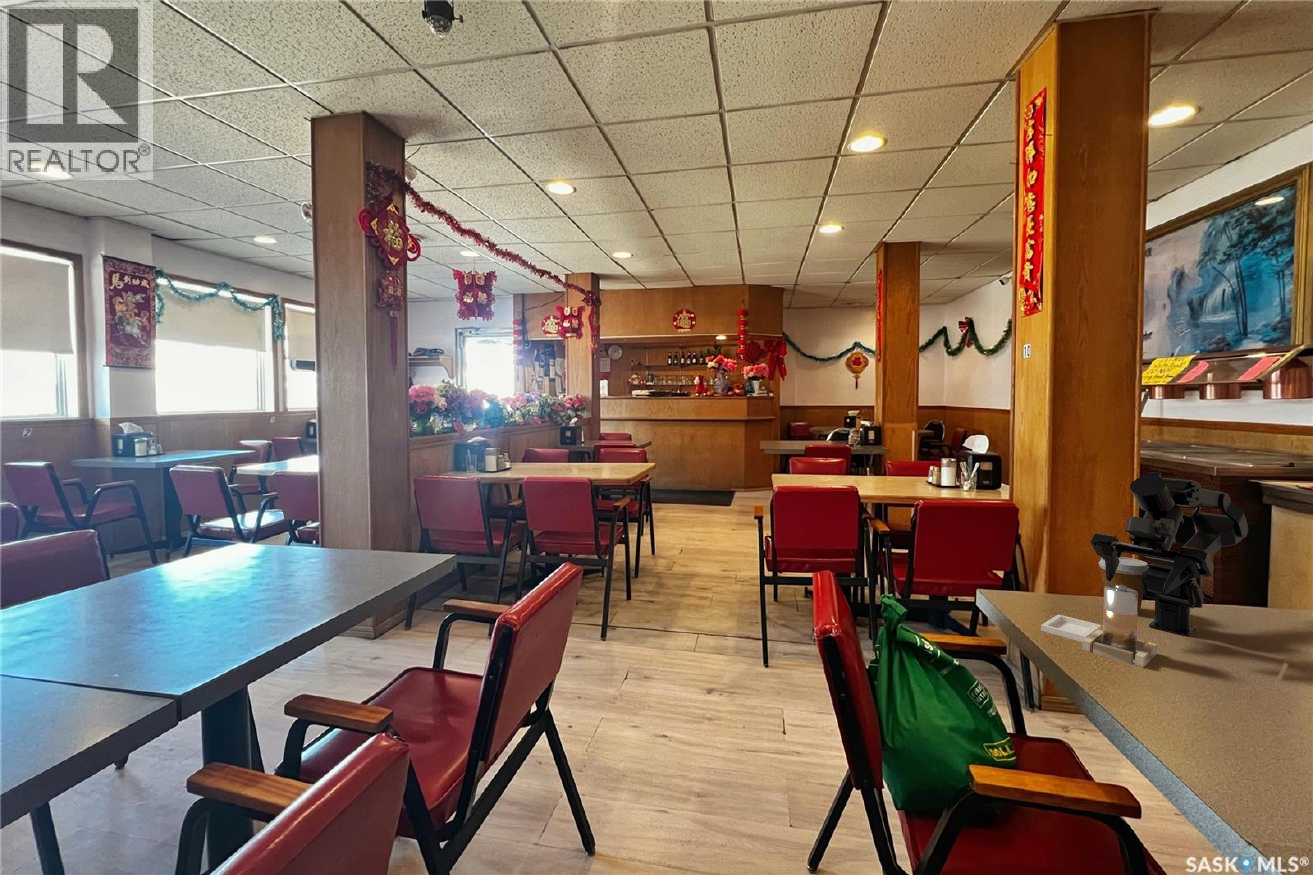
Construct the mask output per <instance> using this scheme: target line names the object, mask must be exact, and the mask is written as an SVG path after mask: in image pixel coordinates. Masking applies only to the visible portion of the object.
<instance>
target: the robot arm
mask: <svg viewBox="0 0 1313 875" xmlns="http://www.w3.org/2000/svg"><path fill="white" fill-rule="evenodd" d="M1129 488H1130V489H1129V490H1130V491H1131V493H1132V495H1133V497H1134V498H1135V500H1136V502H1137V504H1138V506H1139V508H1140V509H1141V510H1142V511H1145V513H1144V515H1143V517H1138V516H1128V517H1127V520H1126V525H1125V530H1124V531H1125V532H1126V533H1128V535H1129V536H1128V538H1129V541H1130V542H1132V543H1126V542H1120V541H1119V539H1118V537H1117V535H1114V534H1107V533H1102V532H1096V533H1093V535H1092V536H1091V537H1090V538H1091V539H1090V540H1089V542H1090V544H1091V546H1092V547H1093V550H1094V551H1095V554H1096V555H1097V556H1099V557H1102V559H1103V560H1105V567H1106V579H1107V581H1109V582H1110V581H1111V580H1112V578H1113V576H1114V574H1115V572H1116V570H1117V567H1118V565H1119V563H1120V561H1119V559H1118V558H1120V557H1122V554H1123V553H1124V554H1129V555H1135V556H1140V557H1145V558H1149V559H1154V560H1153V561H1152V562H1151V563H1149V564H1148V568H1147V570H1145V571H1144V572H1143V574H1142V578H1141V581H1142V587H1143V598H1150V599H1154V620H1152V621H1151V622H1150V623H1149V624H1148V627H1149V628H1152V629H1157V630H1161V631H1165V632H1169V633H1173V634H1178V635H1182V636H1188V637H1189V636H1190V635H1191V634H1192V633H1193V632H1194V631H1195V630H1196V627H1195V626H1194V625H1191V609H1195V608H1196V609H1197V608H1198V609H1202V608H1203V603H1204V598H1205V594H1204V593H1203V591H1202V589H1201V587H1200V586H1199V583H1198V582H1197V579H1201V577H1203V576H1204V577H1211V576H1212V575H1213V571H1214V567H1215V566H1214V563H1213V560H1212V558H1213V557H1214V555H1216V553H1217V552H1218V551H1219V550H1220V549H1221V548H1223V547H1231V546H1235V545H1237V544H1238V543H1239V542H1242V540H1243V539H1244V538H1247V536H1248V533H1249V524H1248V521H1247V518H1246V515H1245V512H1244V511H1243V510H1242V509H1241V508H1239V507H1238V506H1236V504H1234V503H1233V502H1232V501H1231V500H1232V499H1231V496H1230V495H1229V493H1225V492H1224V491H1215V490H1211V489H1207V488H1206V489H1205V488H1202V485H1201V484H1200V483H1198V482H1197V481H1195V480H1191V479H1179V478H1167V477H1163V476H1162V473H1161V472H1153V471H1150V472H1148V473H1147V475H1145V476H1140V477H1137V478H1136V479H1134V480H1133V481H1131V482H1130V485H1129ZM1182 507H1187V508H1188V507H1190V508H1193V507H1196V508H1195V510H1194V511H1193V513H1192V515H1190V518H1191V522H1192V525H1193V529H1194V531H1195V533H1194V534H1193V536H1192V537H1191V538H1190V539H1188V541H1186V543H1185V544H1184V545H1181V546H1180V547H1179V550H1178V551H1171V547H1172V545H1176V541H1177V540H1176V535H1177V532H1178V529H1179V527H1180V524H1184V522H1185V521H1184V511H1183V509H1182ZM1201 508H1206V509H1214V510H1215V509H1217V510H1221V511H1222V513H1223V514H1224V515H1223V514H1216V513H1208V512H1201Z"/></svg>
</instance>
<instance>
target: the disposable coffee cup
mask: <svg viewBox="0 0 1313 875" xmlns="http://www.w3.org/2000/svg"><path fill="white" fill-rule="evenodd" d="M1118 559H1119V561H1120V563H1119V565H1118V567H1117V570H1116V572H1115V574H1114V576H1113V578H1112V580H1111V581H1110V582H1109V581H1107V579H1106V567H1105V560H1103V559H1102V557H1101V558H1100V561H1098V566H1099V568H1100V574H1101V579H1102V588H1103V590H1104V587H1105V586H1115V585H1124V586H1127V588H1129V589H1133V590H1135V591H1137V592H1138V608H1137V613H1138V614H1140V613H1141V608H1142V603H1143V598H1144V593H1143V587H1142V581H1141V578H1142V574H1143V572H1144V571H1145V570H1147V568H1149V564H1148V562H1146V561H1143V560H1141V559H1136V558H1131V557H1127V556H1126V557H1125V556H1121V557H1120V558H1118Z"/></svg>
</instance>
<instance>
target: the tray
mask: <svg viewBox="0 0 1313 875" xmlns="http://www.w3.org/2000/svg"><path fill="white" fill-rule="evenodd" d="M1098 629H1099V630H1103V624H1098V623H1095V622H1091V621H1087V620H1082V619H1078V618H1075V617H1070V616H1067V615H1063V614H1057V615H1055V616H1053V617H1051V618H1050V619H1048V620H1047V621H1045V622H1044V623H1042V624H1041V625H1040V631H1041V632H1044V633H1047V634H1051V635H1054V636H1058V637H1060V638H1065V639H1068V640H1073V641H1075V642H1080V643H1082V641H1083V640H1084V639H1085V638H1087V637H1088V636H1090V635H1091V634H1092V633H1094V632H1095V631H1096V630H1098Z"/></svg>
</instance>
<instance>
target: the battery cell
mask: <svg viewBox="0 0 1313 875" xmlns="http://www.w3.org/2000/svg"><path fill="white" fill-rule="evenodd" d="M1137 608H1138V592H1137V591H1135V590H1133V589H1129V588H1127V586H1124V585H1115V586H1105V587H1104V589H1103V610H1102V611H1103V613H1102V615H1103V616H1102V630H1103V644H1104V645H1108V646H1112V647H1115V648H1119V649H1123V650H1127V651H1130V652H1133V658H1134V657H1135V655H1136V644H1137V639H1138V614H1139V613H1137Z"/></svg>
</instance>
